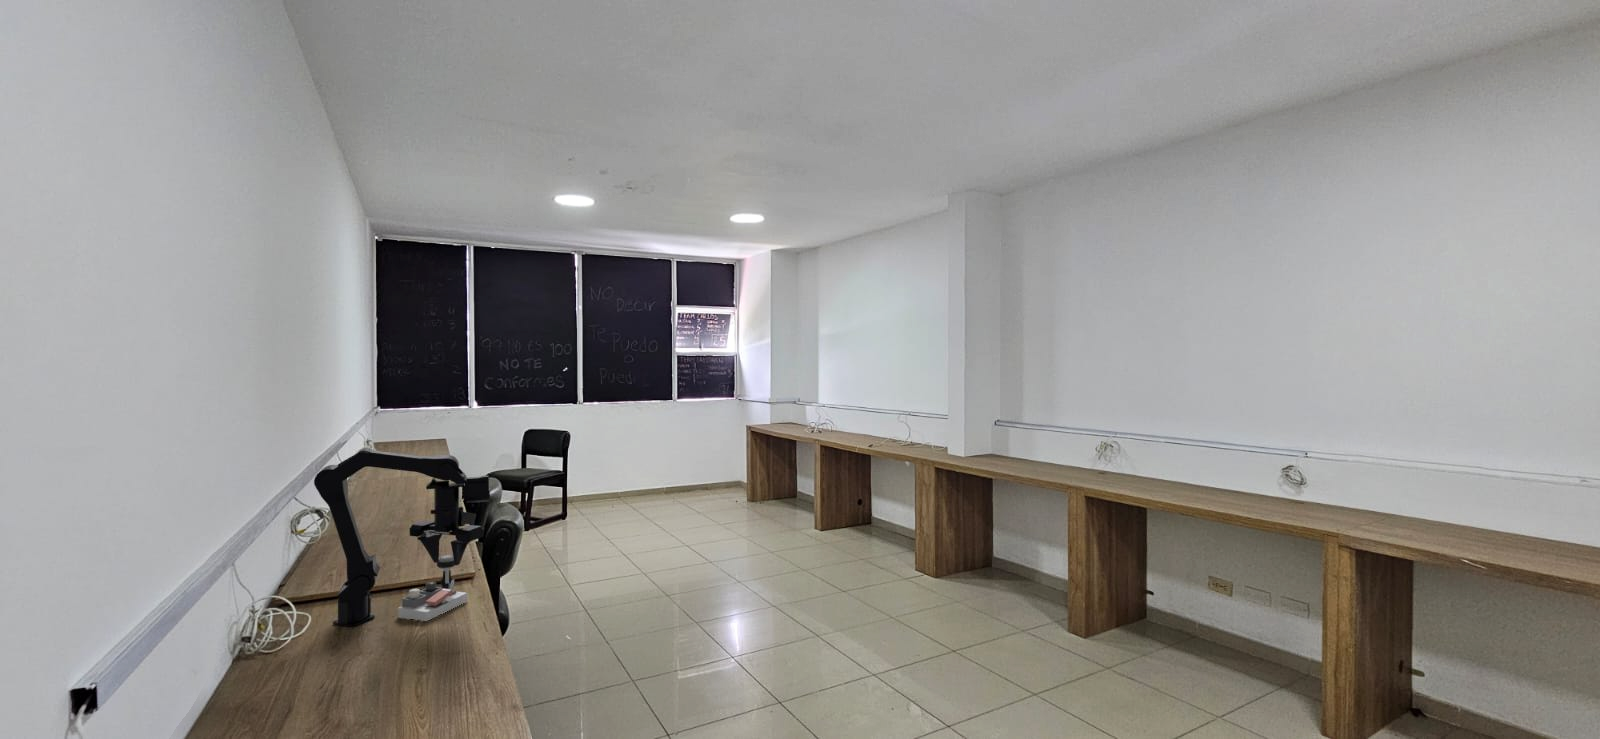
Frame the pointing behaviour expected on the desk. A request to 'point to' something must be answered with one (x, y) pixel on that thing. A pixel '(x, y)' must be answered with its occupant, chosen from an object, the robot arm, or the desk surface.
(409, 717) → the desk surface
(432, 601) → the rocker
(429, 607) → the panel
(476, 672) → the desk surface
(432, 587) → the button black
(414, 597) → the button ivory
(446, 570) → the grey post with knob
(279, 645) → the desk surface
